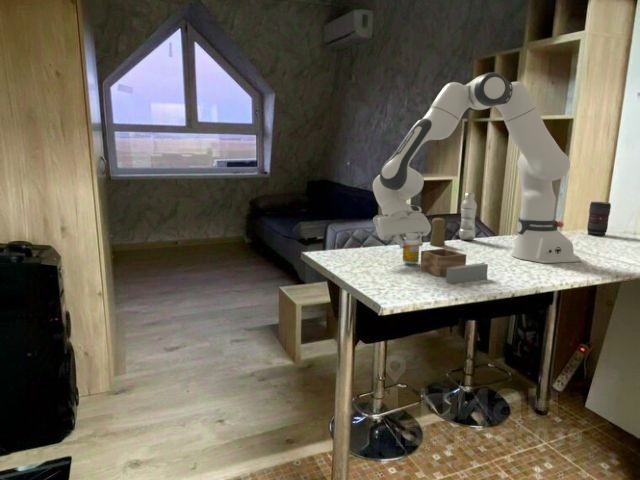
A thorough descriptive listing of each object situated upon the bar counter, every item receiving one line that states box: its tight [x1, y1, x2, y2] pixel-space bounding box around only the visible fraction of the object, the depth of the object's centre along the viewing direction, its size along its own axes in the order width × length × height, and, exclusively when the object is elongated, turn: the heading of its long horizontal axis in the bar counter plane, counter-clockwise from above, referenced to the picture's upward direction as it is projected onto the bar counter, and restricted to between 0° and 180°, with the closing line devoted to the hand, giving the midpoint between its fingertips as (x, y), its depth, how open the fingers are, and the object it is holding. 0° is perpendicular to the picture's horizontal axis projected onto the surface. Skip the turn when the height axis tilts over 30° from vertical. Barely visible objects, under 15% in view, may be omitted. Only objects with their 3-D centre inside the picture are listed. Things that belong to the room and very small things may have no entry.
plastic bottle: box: [458, 192, 478, 241], centre depth 198 cm, size 6×7×20 cm
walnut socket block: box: [419, 247, 467, 277], centre depth 151 cm, size 10×10×6 cm
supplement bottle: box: [402, 233, 420, 265], centre depth 159 cm, size 5×5×10 cm
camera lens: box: [586, 201, 612, 237], centre depth 211 cm, size 8×8×15 cm
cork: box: [429, 217, 446, 247], centre depth 189 cm, size 6×6×11 cm
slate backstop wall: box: [445, 262, 489, 285], centre depth 141 cm, size 2×14×4 cm, turn 115°
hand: (412, 246), depth 158 cm, fingers closed on supplement bottle, 5 cm apart
